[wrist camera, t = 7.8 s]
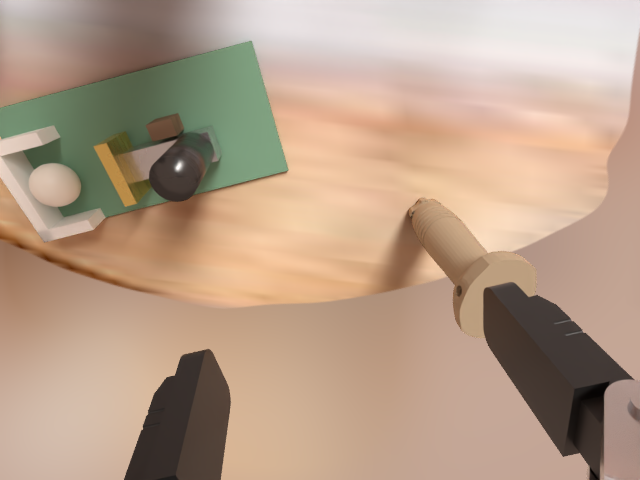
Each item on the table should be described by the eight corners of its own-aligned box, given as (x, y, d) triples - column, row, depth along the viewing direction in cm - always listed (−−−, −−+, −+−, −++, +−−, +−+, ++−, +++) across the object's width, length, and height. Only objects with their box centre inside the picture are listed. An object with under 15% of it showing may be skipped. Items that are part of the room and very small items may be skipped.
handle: (392, 236, 40) (448, 336, 26) (408, 177, 37) (481, 256, 24) (435, 241, 40) (511, 340, 27) (455, 184, 37) (550, 263, 24)
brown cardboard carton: (155, 119, 32) (145, 125, 29) (178, 113, 32) (170, 118, 29) (181, 181, 34) (174, 191, 32) (203, 175, 34) (197, 185, 32)
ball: (67, 159, 30) (67, 154, 33) (16, 176, 29) (20, 169, 32) (90, 200, 32) (88, 192, 35) (43, 218, 30) (45, 207, 33)
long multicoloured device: (206, 110, 31) (180, 135, 23) (227, 167, 34) (210, 208, 26) (114, 134, 32) (55, 168, 23) (141, 189, 34) (96, 237, 26)
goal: (4, 138, 32) (-21, 146, 29) (56, 124, 32) (35, 132, 29) (61, 227, 36) (44, 242, 33) (107, 215, 36) (93, 229, 33)
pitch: (-13, 111, 31) (-16, 112, 30) (251, 40, 30) (251, 40, 30) (61, 227, 36) (59, 229, 35) (288, 169, 35) (288, 170, 35)
